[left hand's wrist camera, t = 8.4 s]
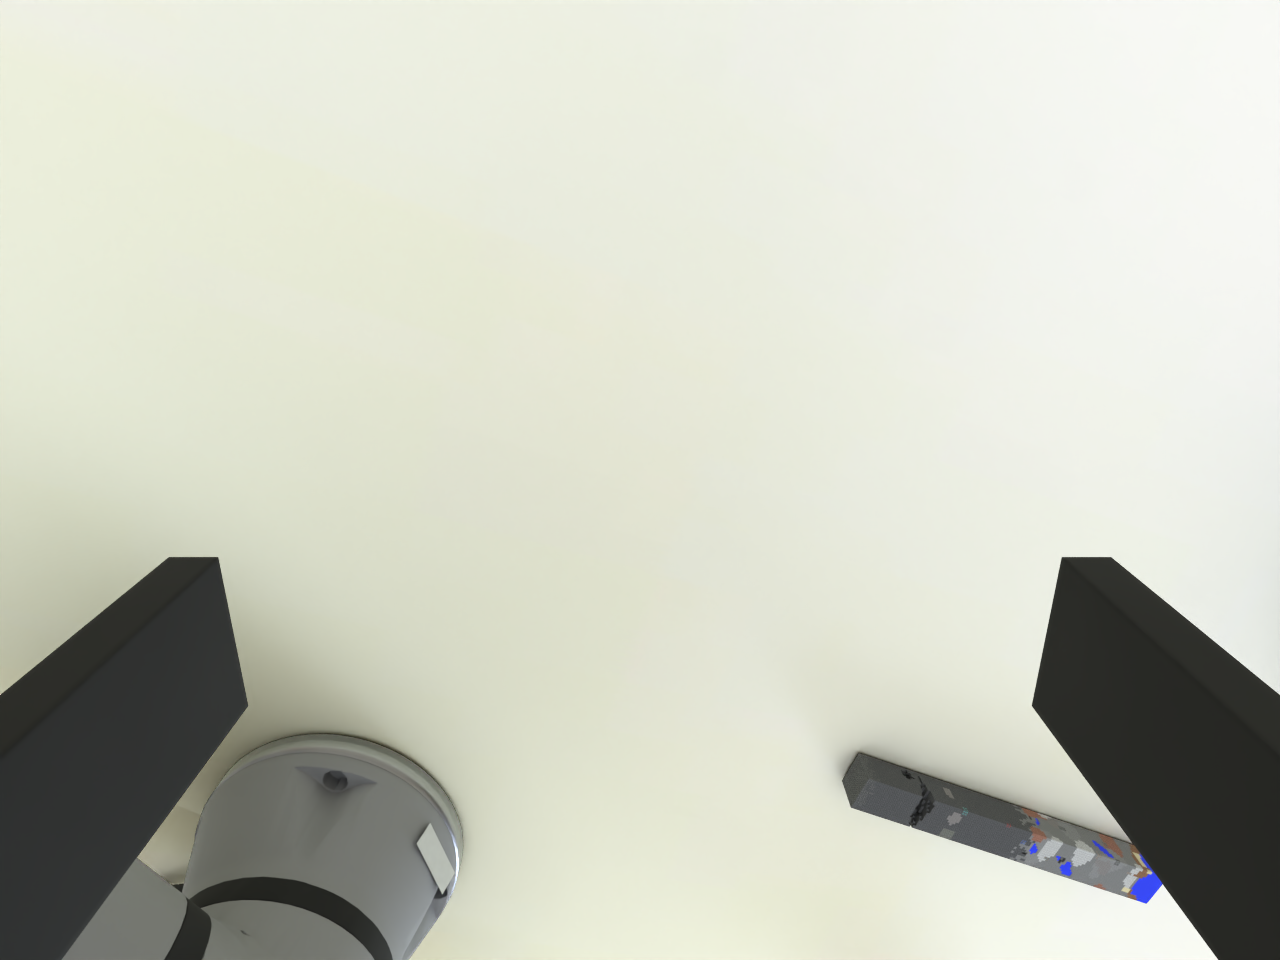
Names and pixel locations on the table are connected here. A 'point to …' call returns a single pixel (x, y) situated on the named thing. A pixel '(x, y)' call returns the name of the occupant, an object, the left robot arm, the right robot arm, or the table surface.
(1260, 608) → the table surface
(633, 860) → the table surface
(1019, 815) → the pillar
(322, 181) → the table surface
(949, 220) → the table surface
